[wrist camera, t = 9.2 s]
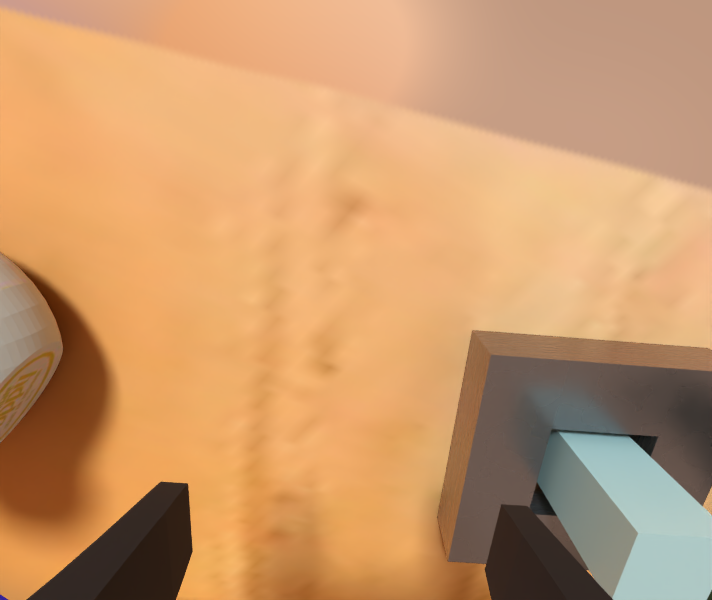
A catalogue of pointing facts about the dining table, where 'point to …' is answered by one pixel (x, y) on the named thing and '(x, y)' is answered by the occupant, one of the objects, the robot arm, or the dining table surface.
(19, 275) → the air freshener
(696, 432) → the port block
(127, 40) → the dining table surface
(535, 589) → the robot arm
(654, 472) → the plug
